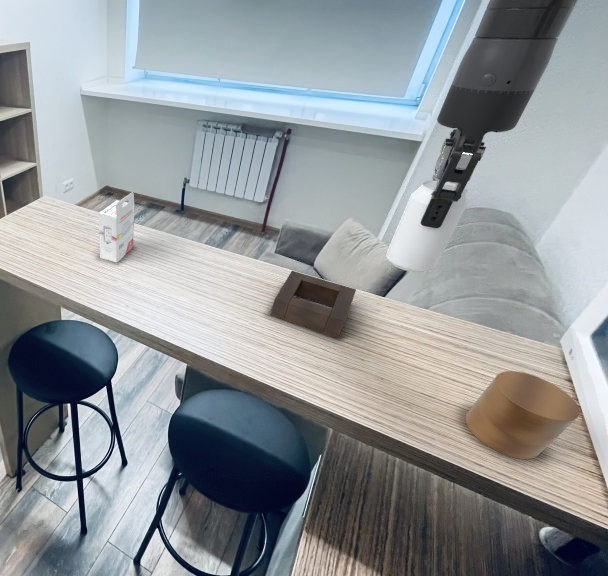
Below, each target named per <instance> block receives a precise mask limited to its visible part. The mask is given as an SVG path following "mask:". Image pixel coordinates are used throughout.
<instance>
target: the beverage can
mask: <svg viewBox="0 0 608 576" xmlns="http://www.w3.org/2000/svg"><path fill="white" fill-rule="evenodd" d="M436 183H437V181H433V180H426V181H422V182H421V184H420V186H419V187H418V188H417V189H416V190H414V191H413V192H412V193H411V194H410V196H409V198H408V200H407V203H406V205H405V207H404V210H403V213H402V215H401V217H400V219H399V222H398V224H397V227H396V229H395V231H394V234H393V236H392V239H391V241H390V242H389V245H388V248H387V250H386V253H385V257H386V259H387V260H388V261H389V262H390V264H392V266H394V267H395V268H398V269H400V270H402V271H406V272H411V273H422V272H427V271H432V270H434V269H435V268H436V266H437V265H438V263H439V261H440V259H441V256H442V255H443V254H444V251H445V250H446V247H447V246H448V244H449V241H450V239H451V238H452V236H453V233H454V232H455V230H456V228H457V226H458V224H459V222H460V220H461V218H462V216H463V214H464V212H465V211H466V208H467V206H468V199H467V193H468V189H467V188H466V187H465V188H464V190H463V192H462V194H461V195H462V196H461V198H460V199H459V200H458V201H457V202H453V203H452V205H451V207H450V209H449V211H448V213H447V215H446V217H445V219H444V221H443V223H442V225H441V227H439V228H431V227H426V226H422V225H421V219H422V217H423V215H424V213H425V211H426V208H427V206H428V204H429V202H430V200H431V196H432V195H431V193H432V192H433V191H434V188H435V186H436ZM455 186H456V184H455V183H450V182H446V183H445V184H444V186H443V188H442V189H446V190H452V191H454V189H455Z"/></svg>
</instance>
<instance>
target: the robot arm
mask: <svg viewBox="0 0 608 576" xmlns="http://www.w3.org/2000/svg"><path fill="white" fill-rule="evenodd" d="M578 2H579V0H489V1H488V3H487V6H486V7H485V8H486V9H485V10H484V13H483V15H482V18H481V19H480V23H479V25H478V27H477V29H476V32H475V34H474V38H472V41H471V42H470V45H469V46H468V48H467V50H466V52H465V53H464V55H463V57H462V58H461V61H460V63H459V65H458V67H457V70H456V73H455V75H454V78H453V80H452V82H451V84H450V87H449V89H448V92H447V94H446V96H445V99H444V101H443V104H442V106H441V108H440V110H439V113H438V115H437V117H436V121H437V123H438V124H439V125H441V126H443V127H446V128H449V129H453V130H452V131H450V133H449V138H447V137H445V139H444V141H443V143H442V146H441V148H440V154H439V156H438V158H437V160H436V162H435V166H434V170H433V171H434V174H433V175H432V181H437V183H436V186H435V188H434V191H433V192H432V193H431V195H432V196H431V200H430V202H429V204H428V206H427V208H426V211H425V213H424V215H423V217H422V219H421V225H422V226H426V227H431V228H439V227H441V225H442V223H443V221H444V219H445V217H446V215H447V213H448V211H449V209H450V207H451V205H452V203H453V202H457V201H458V200H459V199H460V198H461V196H462V195H461V194H462V192H463V190H464V188H466V187H467V184H468V182H469V181H471V178H472V176H473V173H474V171H475V169H476V167H477V165H478V163H479V162H480V161H481V159H482V158H483V156H484V154H485V152H486V150H487V146H485V143H486V141H483V140H484V137H485V135H487V133H505V132H509V131H511V130H513V129H515V128H516V126H517V125H518V123H519V121H520V119H521V117H522V116H523V113H524V111H525V110H526V108H527V106H528V104H529V102H530V100H531V98H532V96H533V95H534V92H535V91H536V89H537V86H538V85H539V82H540V81H541V80H542V78H543V75H544V73H545V71H546V69H547V68H548V65H549V64H550V62H551V59H552V57H553V53H554V51H555V48H556V45H557V43H558V41H559V37H560V36H561V34H562V32H563V31H564V29H565V26H566V25H567V23H568V21H569V19H570V17H571V15H572V13H573V11H574V10H575V7H576V6H577V3H578ZM446 182H450V183H455V184H456V186H455V189H454V191H452V190H446V189H442V188H443V186H444V184H445V183H446Z"/></svg>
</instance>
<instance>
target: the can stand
mask: <svg viewBox="0 0 608 576" xmlns="http://www.w3.org/2000/svg"><path fill="white" fill-rule="evenodd" d="M356 291H357V289H356V288H353V287H350V286H347V285H342V284H339V283H336V282H333V281H329V280H326V279H322V278H319V277H317V276H312V275H309V274H305V273H301V272H299V271H295V270H291V271H290V274H289V275H288V276H287V278H286V279H285V281H284V283H283V284H282V286H281V288H280V289H279V291H278V293H277V295H275V298H274V301H273V304H272V307H271V311H270V314H269V315H270V316H271V317H274V318H277V319H279V320H284V321H286V322H287V323H292V324H294V325H297V326H300V327H303V328H305V329H309V330H312V331H314V332H317V333H320V334H322V335H326V336H328V337H330V338H334V339H339V337H340V334H341V332H342V330H343V328H344V325H345V323H346V321H347V317H348V315H349V311H350V308H351V306H352V302H353V300H354V297H355V295H356ZM297 297H299V298H297ZM301 298H302V299H301ZM307 300H308V301H307ZM310 301H311V302H310ZM319 304H320V305H319ZM322 305H323V306H322ZM326 306H327V307H326ZM328 307H330V308H328Z"/></svg>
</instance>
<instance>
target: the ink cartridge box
mask: <svg viewBox="0 0 608 576" xmlns="http://www.w3.org/2000/svg"><path fill="white" fill-rule="evenodd" d="M134 230H135V193H134V191H131V192H130V193H129V194H127V195H125V196H124V197H123V198H121V199H120V200H118V199H116V200H115V201H113V202H112V203H111V204H109V205H108V206H106V207H105V208H103V210H101V211H99V212H98V231H99V258H100V259H102V260H105V261H109V262H112V263H113V262H114V263H119V262H120V261H121V260H122V259H123V258H124V257H125V256H126V255H127V254H128V253H129V252H130V251H131V250H132V249H133V248H134V236H135V235H134V232H135V231H134Z"/></svg>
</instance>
